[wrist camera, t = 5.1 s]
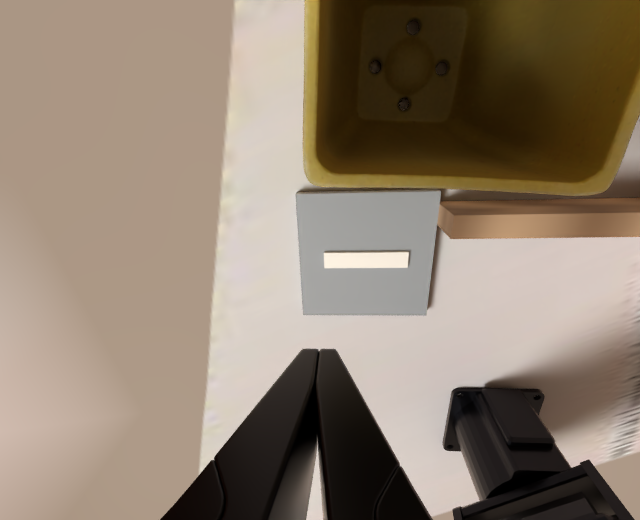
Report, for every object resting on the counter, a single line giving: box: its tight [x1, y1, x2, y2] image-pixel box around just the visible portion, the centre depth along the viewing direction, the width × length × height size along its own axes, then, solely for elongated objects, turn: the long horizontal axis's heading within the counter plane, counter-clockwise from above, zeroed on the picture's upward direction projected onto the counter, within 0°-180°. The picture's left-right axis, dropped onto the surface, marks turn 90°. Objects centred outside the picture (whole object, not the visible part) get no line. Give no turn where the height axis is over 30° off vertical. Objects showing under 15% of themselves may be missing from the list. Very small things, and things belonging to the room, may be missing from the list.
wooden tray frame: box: [437, 198, 640, 239], centre depth 13 cm, size 13×16×3 cm
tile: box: [296, 189, 441, 315], centre depth 19 cm, size 8×8×1 cm
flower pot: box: [303, 0, 640, 196], centre depth 11 cm, size 9×9×9 cm
